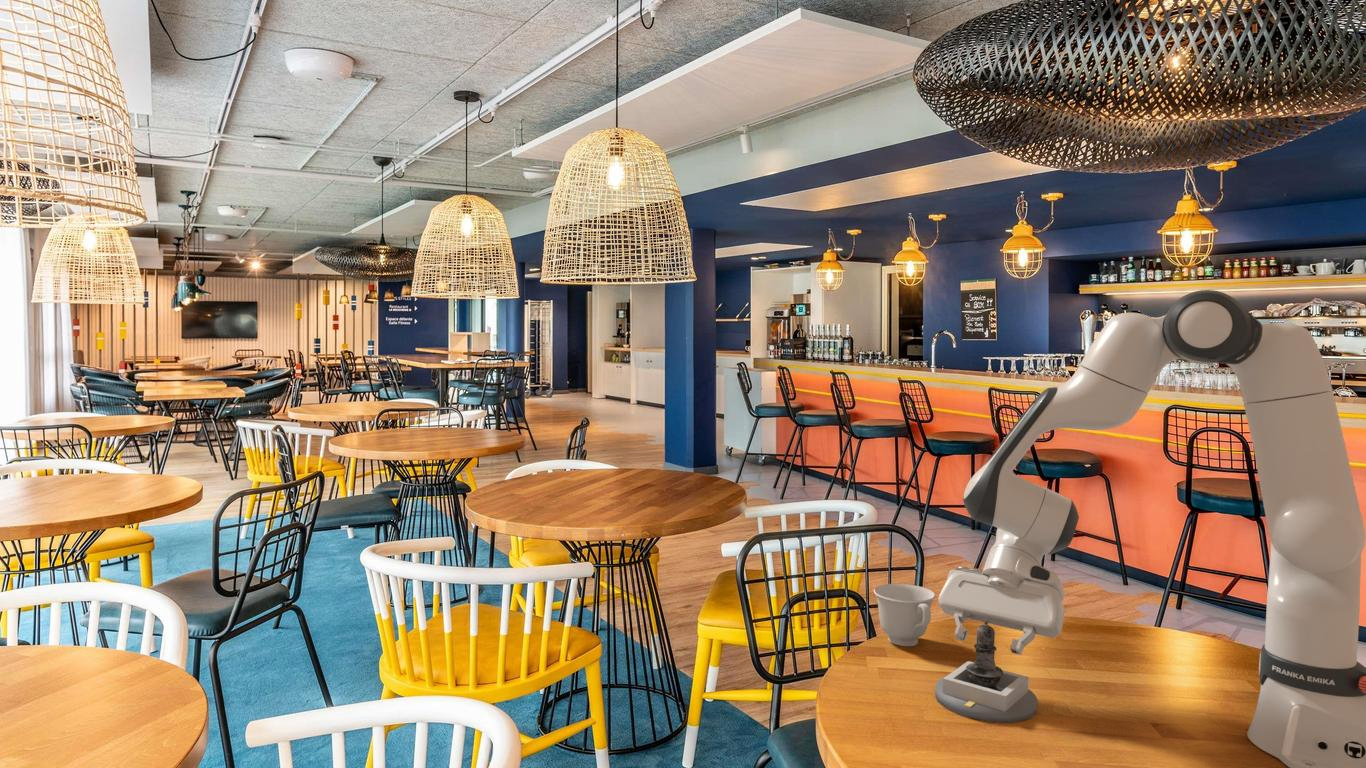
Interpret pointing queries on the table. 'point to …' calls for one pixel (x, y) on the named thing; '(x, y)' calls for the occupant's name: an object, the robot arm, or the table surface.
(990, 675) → the dark grey tapered piece
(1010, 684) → the socket stand
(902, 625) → the teacup
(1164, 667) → the table surface
